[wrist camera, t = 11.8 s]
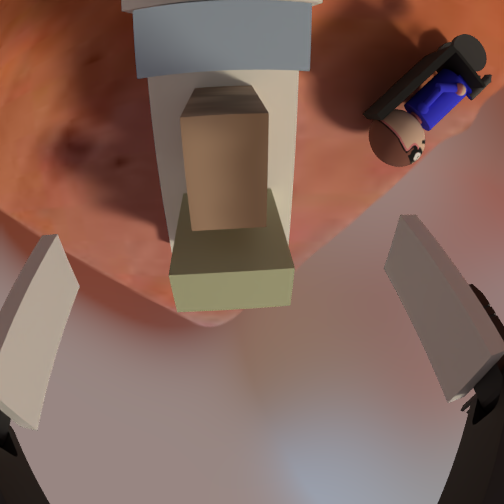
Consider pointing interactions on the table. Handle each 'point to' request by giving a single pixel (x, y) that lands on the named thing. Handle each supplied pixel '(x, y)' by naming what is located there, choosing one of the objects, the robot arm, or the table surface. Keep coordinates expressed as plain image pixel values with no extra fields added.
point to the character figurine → (425, 99)
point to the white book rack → (182, 86)
